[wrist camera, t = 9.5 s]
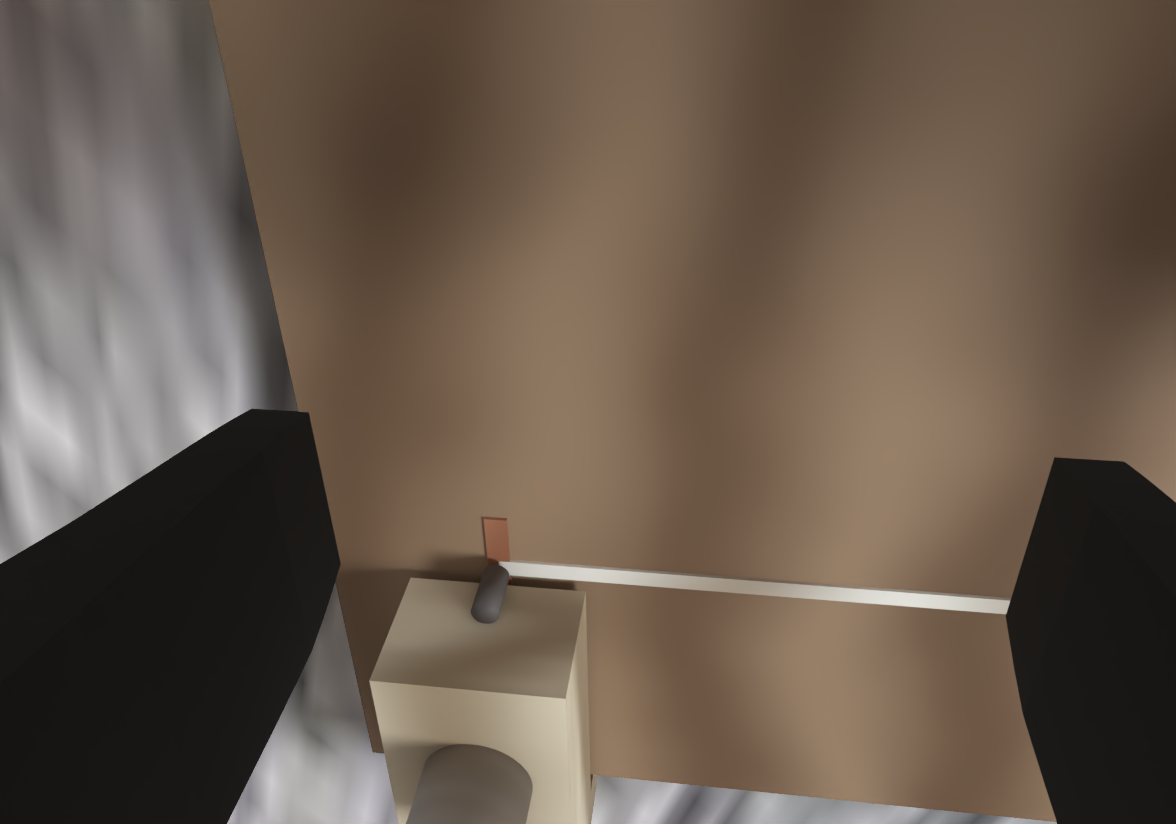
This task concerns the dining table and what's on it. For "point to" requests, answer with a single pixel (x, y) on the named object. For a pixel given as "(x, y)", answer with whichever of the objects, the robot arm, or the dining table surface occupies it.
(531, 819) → the cream block
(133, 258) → the dining table surface
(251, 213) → the dining table surface
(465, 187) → the board
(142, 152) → the dining table surface
